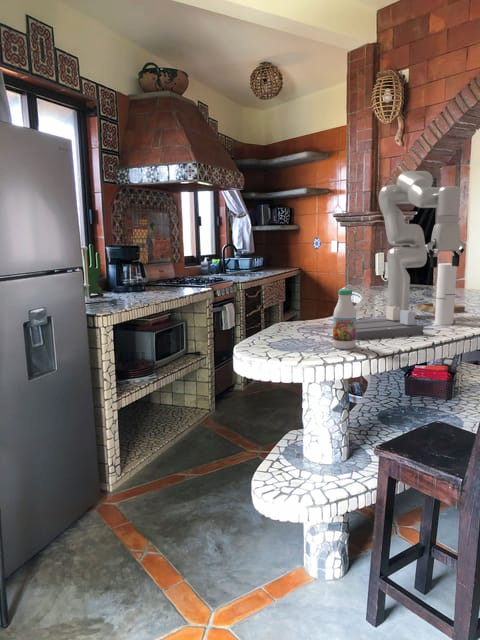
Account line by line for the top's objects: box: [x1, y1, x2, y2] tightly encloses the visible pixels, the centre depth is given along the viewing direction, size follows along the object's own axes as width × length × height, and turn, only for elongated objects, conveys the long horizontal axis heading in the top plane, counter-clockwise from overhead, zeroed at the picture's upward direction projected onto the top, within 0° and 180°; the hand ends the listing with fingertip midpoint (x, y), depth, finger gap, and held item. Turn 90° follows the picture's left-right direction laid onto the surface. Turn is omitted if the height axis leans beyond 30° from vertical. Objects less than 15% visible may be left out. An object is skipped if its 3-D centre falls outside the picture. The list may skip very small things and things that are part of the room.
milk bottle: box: [332, 288, 357, 350], centre depth 159 cm, size 8×8×20 cm
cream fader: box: [385, 305, 400, 321], centre depth 190 cm, size 5×3×5 cm, turn 15°
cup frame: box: [417, 302, 466, 314], centre depth 227 cm, size 15×15×2 cm
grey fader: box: [399, 309, 416, 325], centre depth 180 cm, size 5×3×5 cm, turn 15°
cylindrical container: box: [434, 262, 458, 326], centre depth 195 cm, size 7×7×25 cm
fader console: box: [356, 318, 424, 341], centre depth 183 cm, size 19×28×3 cm
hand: (444, 266), depth 177 cm, fingers open, 9 cm apart
